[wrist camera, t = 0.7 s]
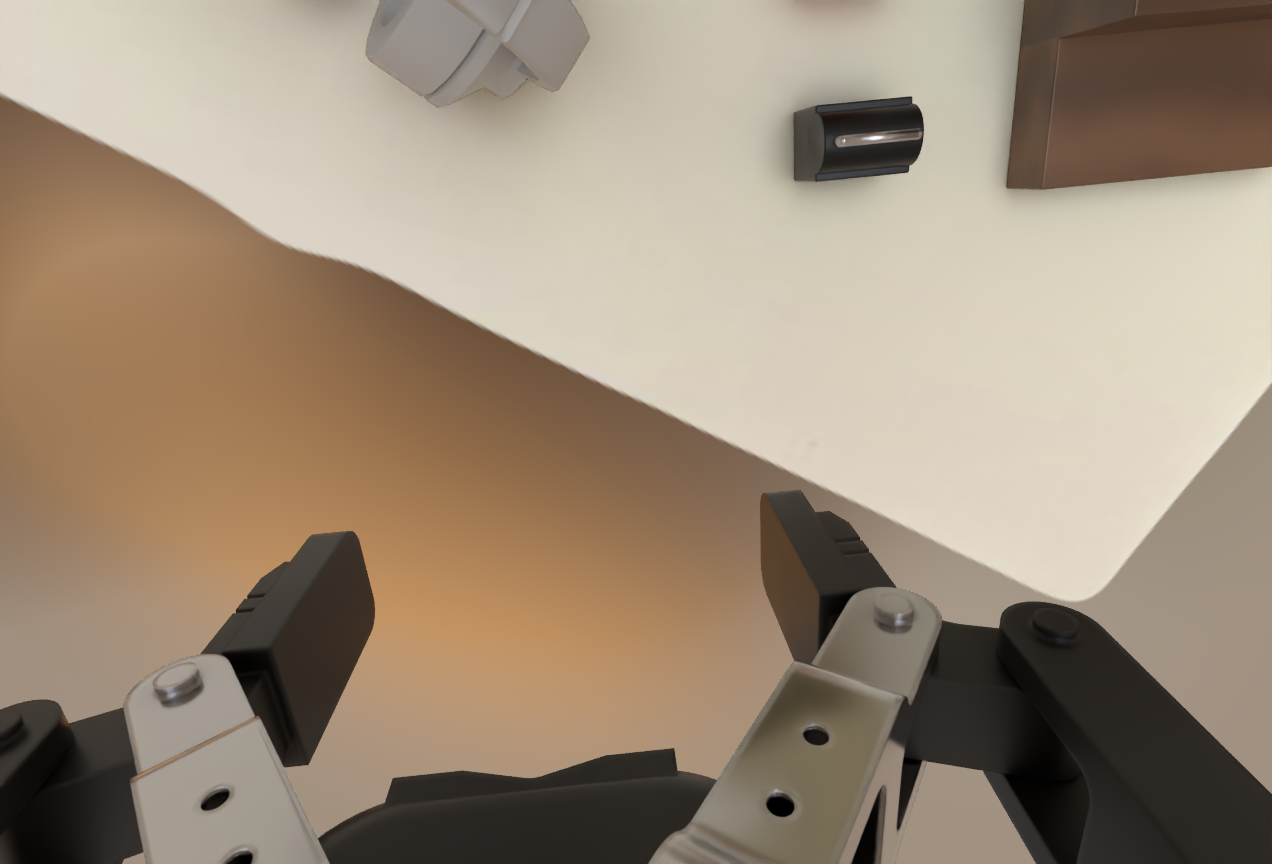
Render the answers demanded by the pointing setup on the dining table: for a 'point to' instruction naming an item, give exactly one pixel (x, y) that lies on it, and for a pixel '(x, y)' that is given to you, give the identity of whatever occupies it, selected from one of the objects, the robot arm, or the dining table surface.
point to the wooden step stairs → (1141, 90)
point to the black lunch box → (857, 139)
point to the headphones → (475, 45)
